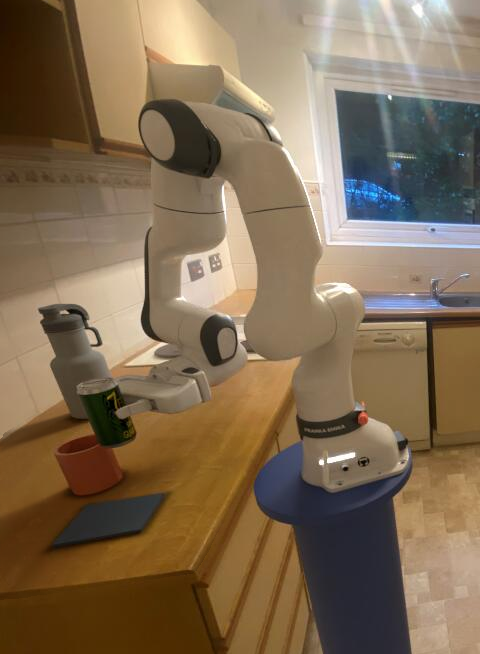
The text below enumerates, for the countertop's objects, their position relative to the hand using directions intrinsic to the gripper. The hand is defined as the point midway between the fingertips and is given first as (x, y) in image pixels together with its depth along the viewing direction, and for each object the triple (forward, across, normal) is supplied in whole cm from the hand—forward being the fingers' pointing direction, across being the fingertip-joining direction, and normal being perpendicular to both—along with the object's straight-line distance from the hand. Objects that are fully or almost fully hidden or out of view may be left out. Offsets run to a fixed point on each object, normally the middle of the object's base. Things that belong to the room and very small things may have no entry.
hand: (101, 412), depth 77 cm
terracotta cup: (0, -9, +17) cm, 19 cm away
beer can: (-1, 0, +7) cm, 7 cm away
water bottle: (-22, -41, +17) cm, 50 cm away
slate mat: (+7, +5, +17) cm, 19 cm away
